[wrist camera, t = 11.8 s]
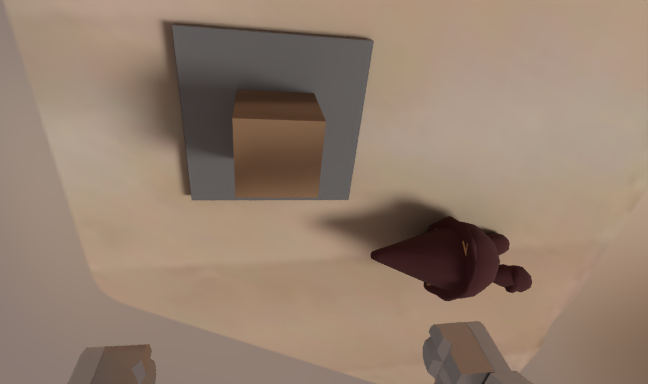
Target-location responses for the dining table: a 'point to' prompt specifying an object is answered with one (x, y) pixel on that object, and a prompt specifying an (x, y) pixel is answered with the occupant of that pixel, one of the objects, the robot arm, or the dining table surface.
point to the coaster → (266, 75)
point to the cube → (277, 144)
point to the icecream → (455, 260)
